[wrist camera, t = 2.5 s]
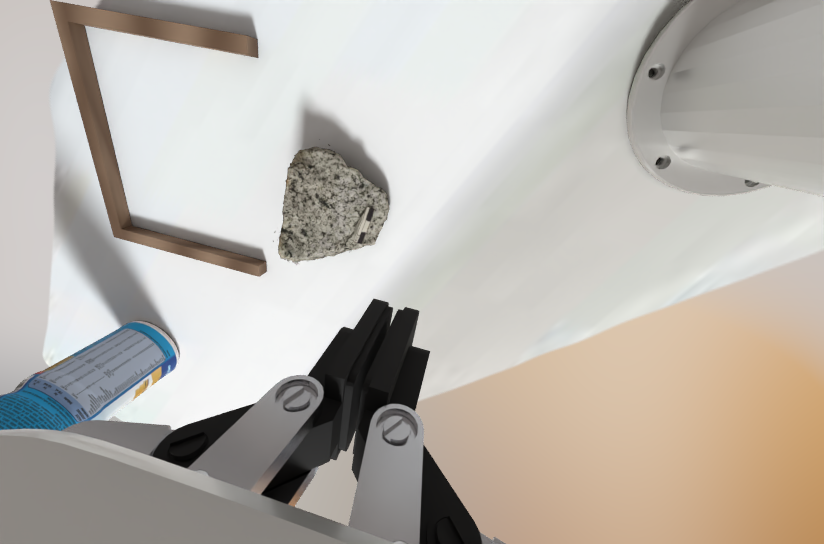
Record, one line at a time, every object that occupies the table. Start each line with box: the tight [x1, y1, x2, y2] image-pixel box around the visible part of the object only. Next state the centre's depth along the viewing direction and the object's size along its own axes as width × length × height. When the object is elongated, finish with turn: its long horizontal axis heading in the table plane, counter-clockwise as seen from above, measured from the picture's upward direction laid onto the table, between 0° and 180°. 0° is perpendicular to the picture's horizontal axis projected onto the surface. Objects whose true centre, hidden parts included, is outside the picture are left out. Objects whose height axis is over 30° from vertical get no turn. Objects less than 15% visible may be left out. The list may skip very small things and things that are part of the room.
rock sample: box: [273, 139, 389, 265], centre depth 27 cm, size 10×8×9 cm
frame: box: [50, 0, 267, 277], centre depth 29 cm, size 17×20×1 cm
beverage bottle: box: [0, 321, 179, 431], centre depth 34 cm, size 8×8×20 cm
